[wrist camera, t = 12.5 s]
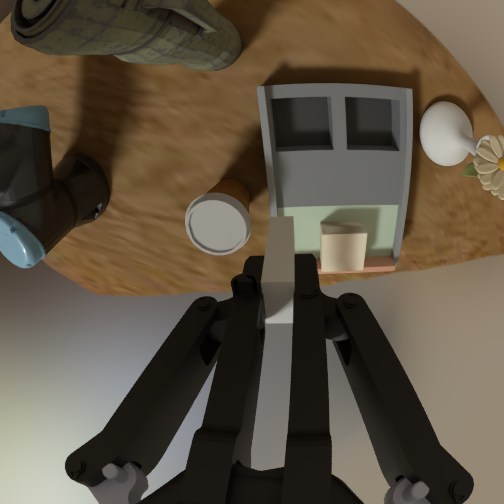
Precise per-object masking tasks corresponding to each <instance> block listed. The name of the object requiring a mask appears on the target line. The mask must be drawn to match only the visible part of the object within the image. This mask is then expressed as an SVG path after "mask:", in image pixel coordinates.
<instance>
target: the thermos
mask: <svg viewBox="0 0 504 504" xmlns="http://www.w3.org/2000/svg"><path fill="white" fill-rule="evenodd" d="M11 32H12V34H13V36H14V39H15V40H16V41H18V42H19V43H21V44H22V45H25V46H28V47H30V48H33V49H35V50H37V51H40V52H43V53H46V54H49V55H60V56H61V55H108V54H111V55H114V56H116V57H117V58H119V59H120V60H122V61H126V62H130V63H136V64H153V65H167V64H174V63H181V64H182V65H184V66H185V67H188V68H192V69H196V70H202V71H217V70H221V69H225V68H226V67H228V66H230V65H232V64H233V63H234V62H235V61H236V60H237V59H238V57H239V55H240V53H241V51H242V39H241V35H240V34H239V32H238V31H237V29H236V28H235V27H234V25H233V24H232V23H231V22H230V21H229V20H228V19H226V18H225V17H223V16H222V15H221V13H220V12H218V11H217V10H215V9H214V8H213V6H212V5H211V4H210V3H209V2H208V1H207V0H15V2H14V5H13V9H12V14H11Z"/></svg>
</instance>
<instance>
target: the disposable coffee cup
mask: <svg viewBox="0 0 504 504" xmlns="http://www.w3.org/2000/svg"><path fill="white" fill-rule="evenodd" d="M185 224H186V231H187V234H188V236H189V238H190V240H191V241H192V242H193V243H194V245H196V246H197V247H198V248H199V249H201V250H203V251H204V252H206V253H209V254H214V255H226V254H230V253H232V252H234V251H236V250H237V249H239V248H240V247H242V246H243V245H244V244H245V243H246V242H247V240H248V238H249V236H250V233H251V219H250V216H249V192H248V189H247V187H246V186H245V185H244V184H243V183H242V182H240V181H238V180H235V179H225V180H223V181H221V182H219V183H218V184H217V185H216V186H214V187H213V188H212V189H211V190H209V191H208V192H207V193H206V194H204V195H202V196H199V197H198V198H196V199H195V200H194V201H193V202H192V203H191V204H190V206H189V207H188V209H187V212H186V216H185Z"/></svg>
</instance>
